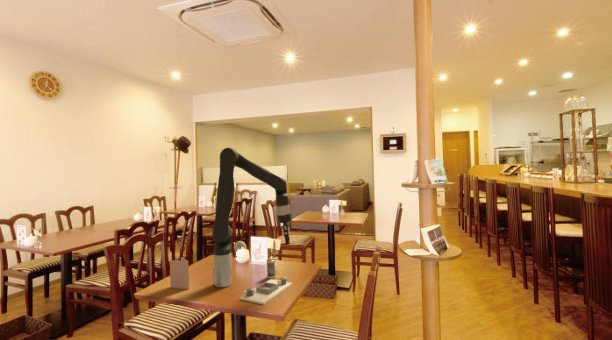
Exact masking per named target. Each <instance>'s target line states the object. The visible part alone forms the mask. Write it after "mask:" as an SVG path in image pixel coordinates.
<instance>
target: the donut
mask: <svg viewBox="0 0 612 340" xmlns="http://www.w3.org/2000/svg"><path fill="white" fill-rule="evenodd" d="M239 247H241V248H242V247H244V248H246V249H247V245H246V243H245V242H244V241H243V240H238V241H236V242H235V243H234V246H233V249H234V251H235V253H236V250H237V249H240V248H239Z"/></svg>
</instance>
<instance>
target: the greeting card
mask: <svg viewBox="0 0 612 340" xmlns="http://www.w3.org/2000/svg"><path fill="white" fill-rule="evenodd" d="M189 264H190V262H189V260H187V259H186V258H184V257H182V256H180V259H179V260H176V259H174V260H173V259H169V273H170V274H169V275H170V277H169V278H170V281H169V283H170V288H171V289H172V288H173V289H183V290H190V276H189V275H190V273H189V267H190V265H189Z"/></svg>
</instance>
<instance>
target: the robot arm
mask: <svg viewBox="0 0 612 340" xmlns="http://www.w3.org/2000/svg"><path fill="white" fill-rule="evenodd" d="M235 167H236V168H239V169H241V170H242V171H244V172H247V174H249V175H250V176H251V177H253V178H255V179H257V180H259V181H260V182H262V183H265V184H266V185H268V186H270V187H271V188H273V189H274V191H275V192H274V193H275V203H276V204H275V205H276V215H277V223H279V224H282V225H281V228H282V229H281V230H282V234H283V237H284V242H285V245H290V243H291V242H290V240H291V239H290V224H289V223H291V222H292V220H293V219H292V213H291V211H292V210H291V207H290V200H289V196H288V185H287V181H286V179H285V177H280V176H279V175H276V174H275V173H273V172H272V171H270V170H268V169H267V168H264V167H263V166H261V165H259V164H256V163H255V162H252V161H251V160H250V159H247V158H246V157H245V156H243V155H242V154H241V153H240V152H238V151H237V150H236V149H235V148H232V147H225V148H223V149H222V150H221V151H220V154H219V175H218V183H217V188H216V189H217V190H216V200H215V216H214V217H215V218H214V221H213V222H214V223H213V227H212V230H211V231H212V232H211V236H212V239H213V241H215V242H214V248H213V265H214V266H213V268H212V278H213V279H212V283H213V286H215V287H216V288H227V287H229V286H232V285H233V269H232V267H233V265H232V264H233V262H232V260H233V259H232V247H233V231H232V227H231V225H229V222H230V214H231V212H232V207H233V204H234V199H235V189H236V188H235V179H234V172H235Z"/></svg>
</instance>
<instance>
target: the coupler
mask: <svg viewBox="0 0 612 340" xmlns="http://www.w3.org/2000/svg"><path fill="white" fill-rule="evenodd" d="M275 264H276V259H274V258H269V259H266V273H267V275H266V278H267V279H269V280H270V279H272V280H274V279H276V270H275V269H276V267H275V266H276V265H275Z"/></svg>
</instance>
